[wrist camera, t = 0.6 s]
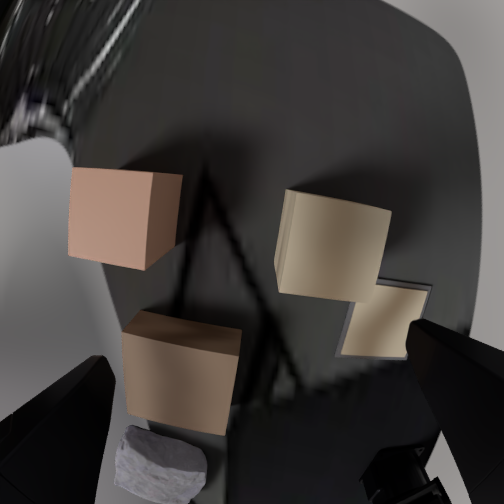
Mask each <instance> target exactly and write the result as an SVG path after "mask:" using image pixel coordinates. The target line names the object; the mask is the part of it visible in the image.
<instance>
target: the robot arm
mask: <svg viewBox="0 0 504 504" xmlns="http://www.w3.org/2000/svg"><path fill="white" fill-rule="evenodd" d="M405 347H406V351H407V353H408V356H409V358H410V361H411V363H412V366H413V369H414V371H415V374H416V376H417V379H418V382H419V384H420V387H421V389H422V391H423V393H424V395H425V397H426V399H427V401H428V403H429V405H430V407H431V409H432V411H433V414H434V416H435V418H436V420H437V422H438V424H439V426H440V428H441V430H442V433H443V435H444V437H445V439H446V441H447V444H448V446H449V448H450V450H451V453H452V455H453V457H454V460H455V462H456V464H457V467H458V469H459V471H460V474H461V477H462V479H463V481H464V484H465V487H466V489H467V492H468V494H469V498H470V500H471V503H472V504H504V351H502V350H499V349H497V348H494V347H492V346H489V345H487V344H484V343H482V342H479V341H477V340H475V339H472V338H470V337H468V336H465V335H463V334H460V333H458V332H455V331H453V330H450V329H448V328H446V327H443V326H441V325H438V324H436V323H433V322H431V321H429V320H426V319H423V318H421V319H417V320H413V321H411V322H410V324H409V328H408V333H407V338H406V343H405ZM115 384H116V380H115V375H114V373H113V371H112V369H111V367H110V365H109V362H108V360H107V358H106V357H104V356H103V355H102V356H101V355H93V356H91V357H89V358H88V359H86V360H85V361H84V362H82V363H81V364H79V365H78V366H77V367H75V368H74V369H73V370H71V371H70V372H68V373H67V374H66V375H64V376H63V377H62V378H60V379H59V380H57V381H56V382H54V383H53V384H52V385H50V386H49V387H48V388H46V389H45V390H43V391H42V392H41V393H39V394H38V395H37V396H35V397H34V398H32V399H31V400H30V401H28V402H27V403H25V404H24V405H23V406H21V407H20V408H19V409H17V410H16V411H15V412H13V414H10V415H9V416H8V417H6V418H5V419H3V420H2V421H1V422H0V504H94V503H95V497H96V491H97V485H98V480H99V474H100V469H101V463H102V459H103V454H104V449H105V445H106V440H107V436H108V431H109V426H110V420H111V413H112V405H113V397H114V390H115ZM424 449H425V448H424V446H423V445H420V446H413V447H407V448H399V449H391V450H382V451H379V452H378V453H377V454H376V456H375V458H374V459H373V461H372V462H371V464H370V465H369V467H368V468H367V469H366V471H365V472H364V474H363V475H362V477H361V478H360V479H359V482H360V484H364V487H365V490H366V494H367V497H368V501H370V502H373V504H452V503H451V501H450V499H449V497H448V495H447V493H446V491H445V489H444V487H443V485H442V483H441V482H440V480H439V478H438V477H436V478H434V480H432V481H430V479H429V477H428V475H427V473H426V470H425V468H424V466H423V464H422V462H421V460H420V458H419V456H420V454H421V453H422V452H423V450H424Z"/></svg>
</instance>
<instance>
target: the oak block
mask: <svg viewBox="0 0 504 504" xmlns="http://www.w3.org/2000/svg"><path fill="white" fill-rule="evenodd" d="M391 213H392V211H389V210H385V209H381V208H377V207H373V206H369V205H365V204H361V203H357V202H352V201H347V200H342V199H337V198H332V197H327V196H322V195H316V194H311V193H305V192H299V191H294V190H288V189H286V192H285V198H284V205H283V211H282V217H281V223H280V229H279V235H278V241H277V247H276V253H275V259H274V265H275V270H276V276H277V282H278V288H279V292H281V293H288V294H296V295H303V296H311V297H318V298H326V299H334V300H343V301H351V302H360V303H368V304H370V303H371V299H372V296H373V292H374V288H375V284H376V281H377V277H378V273H379V269H380V265H381V260H382V256H383V252H384V247H385V243H386V238H387V233H388V228H389V223H390V218H391Z"/></svg>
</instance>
